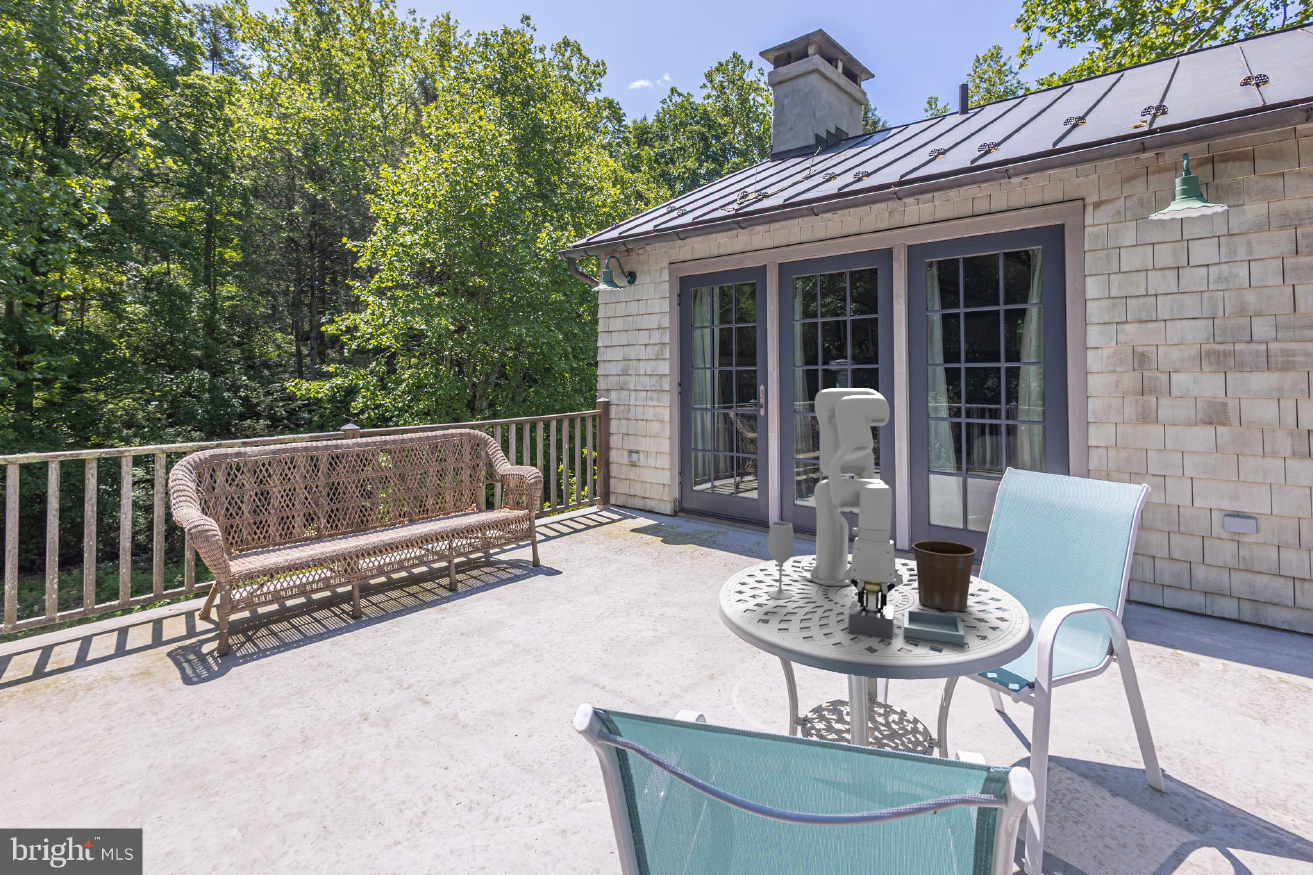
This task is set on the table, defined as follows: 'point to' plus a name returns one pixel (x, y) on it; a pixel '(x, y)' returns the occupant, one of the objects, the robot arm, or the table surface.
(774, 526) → the wineglass
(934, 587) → the plant pot
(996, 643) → the table surface
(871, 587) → the pin
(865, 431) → the robot arm
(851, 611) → the block
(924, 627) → the tray
